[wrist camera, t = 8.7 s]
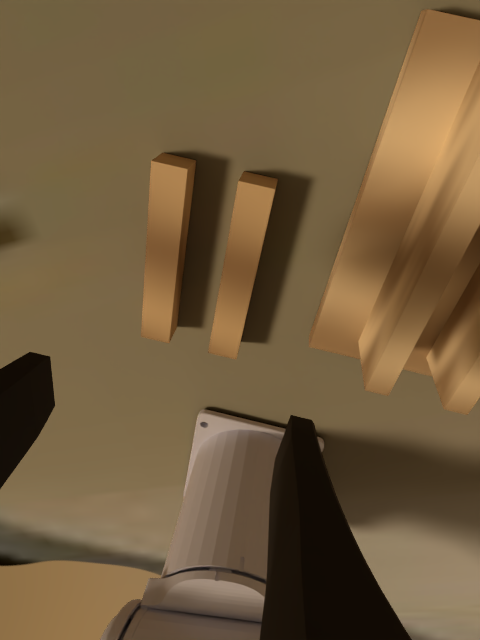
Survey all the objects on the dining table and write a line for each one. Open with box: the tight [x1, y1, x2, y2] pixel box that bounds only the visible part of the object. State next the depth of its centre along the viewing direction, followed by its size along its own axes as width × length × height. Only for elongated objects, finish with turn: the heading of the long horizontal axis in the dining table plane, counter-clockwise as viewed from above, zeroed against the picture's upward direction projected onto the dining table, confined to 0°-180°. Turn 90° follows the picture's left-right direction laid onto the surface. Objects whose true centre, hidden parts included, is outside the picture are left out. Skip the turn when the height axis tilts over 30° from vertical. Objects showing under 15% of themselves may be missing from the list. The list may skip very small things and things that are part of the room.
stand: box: [141, 153, 278, 359], centre depth 20 cm, size 9×5×2 cm, turn 170°
